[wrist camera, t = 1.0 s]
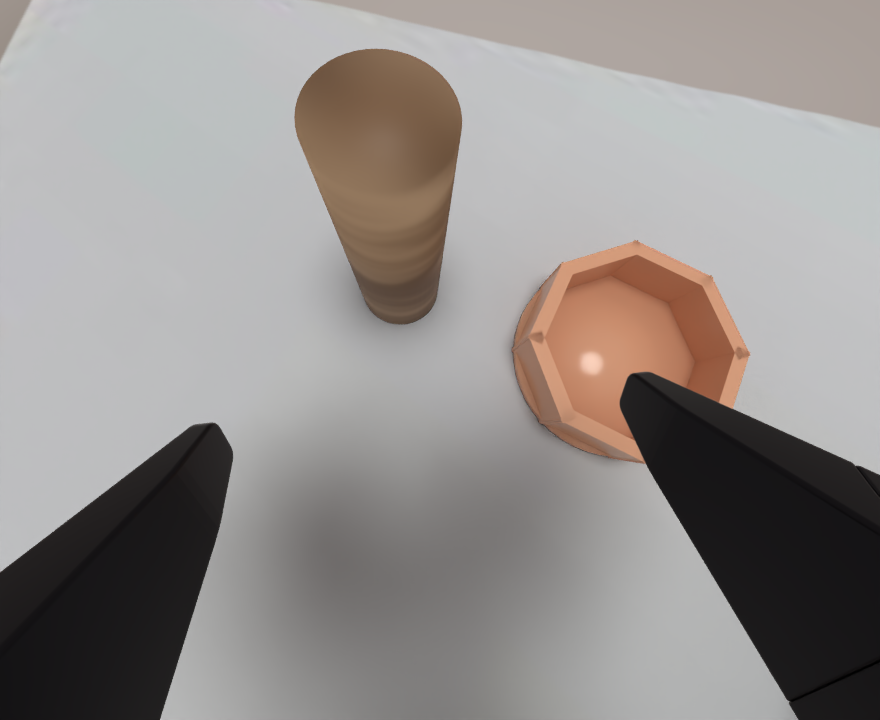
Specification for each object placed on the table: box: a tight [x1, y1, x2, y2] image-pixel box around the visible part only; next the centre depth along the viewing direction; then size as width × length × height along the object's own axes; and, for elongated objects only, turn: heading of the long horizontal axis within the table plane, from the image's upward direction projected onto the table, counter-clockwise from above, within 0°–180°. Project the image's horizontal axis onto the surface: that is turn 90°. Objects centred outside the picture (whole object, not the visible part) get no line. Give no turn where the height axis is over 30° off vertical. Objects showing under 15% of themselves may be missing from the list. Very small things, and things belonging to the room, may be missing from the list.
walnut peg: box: [295, 49, 462, 324], centre depth 17 cm, size 5×5×13 cm
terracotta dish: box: [512, 240, 750, 464], centre depth 21 cm, size 12×12×4 cm
